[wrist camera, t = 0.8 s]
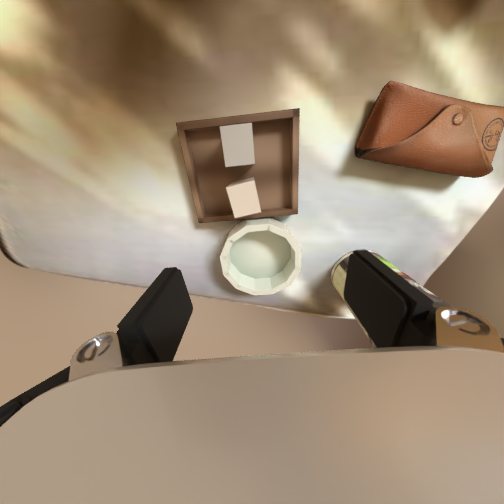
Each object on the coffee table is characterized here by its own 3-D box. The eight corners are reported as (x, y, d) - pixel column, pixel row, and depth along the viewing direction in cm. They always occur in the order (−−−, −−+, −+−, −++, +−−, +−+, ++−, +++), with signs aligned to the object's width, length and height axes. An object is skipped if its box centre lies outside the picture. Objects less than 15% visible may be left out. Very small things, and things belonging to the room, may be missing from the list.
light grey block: (226, 134, 25) (219, 126, 19) (251, 131, 25) (251, 122, 19) (230, 166, 27) (225, 167, 21) (254, 163, 26) (254, 163, 21)
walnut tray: (181, 126, 25) (175, 123, 23) (295, 112, 24) (299, 108, 22) (202, 219, 31) (199, 223, 29) (294, 210, 30) (297, 214, 28)
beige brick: (231, 182, 28) (225, 187, 22) (253, 177, 27) (254, 180, 22) (238, 208, 29) (234, 218, 24) (259, 203, 29) (261, 212, 24)
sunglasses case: (520, 103, 22) (555, 137, 19) (456, 155, 29) (475, 186, 26) (384, 77, 21) (400, 109, 18) (349, 137, 28) (356, 167, 25)
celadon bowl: (219, 220, 31) (214, 228, 27) (295, 212, 30) (302, 220, 26) (230, 282, 36) (227, 297, 32) (295, 277, 36) (300, 291, 32)
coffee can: (355, 239, 32) (421, 288, 20) (395, 263, 34) (479, 321, 22) (319, 281, 36) (354, 344, 24) (357, 300, 38) (409, 367, 26)
